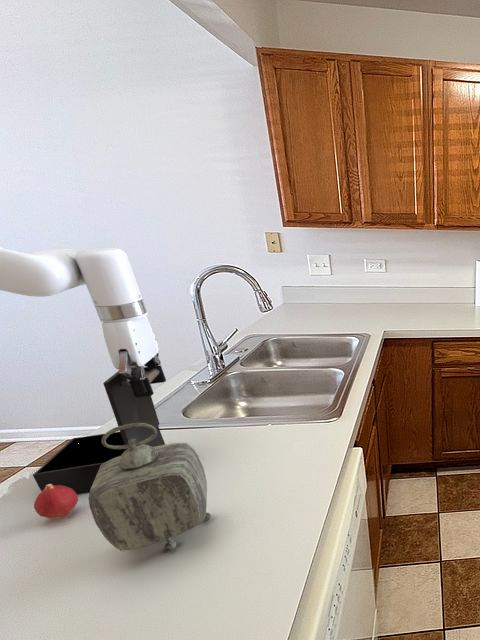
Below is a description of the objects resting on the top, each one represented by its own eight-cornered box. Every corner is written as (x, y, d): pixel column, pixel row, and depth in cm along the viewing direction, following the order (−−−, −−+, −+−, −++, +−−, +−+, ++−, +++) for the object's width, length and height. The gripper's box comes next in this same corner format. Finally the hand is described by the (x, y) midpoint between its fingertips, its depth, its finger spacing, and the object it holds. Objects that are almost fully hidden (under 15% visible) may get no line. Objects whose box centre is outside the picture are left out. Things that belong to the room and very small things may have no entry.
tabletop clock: (218, 510, 80) (181, 402, 70) (218, 541, 73) (177, 426, 63) (126, 541, 73) (72, 425, 63) (117, 578, 66) (54, 455, 56)
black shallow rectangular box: (45, 500, 83) (32, 475, 81) (83, 460, 95) (73, 438, 93) (142, 483, 88) (132, 459, 85) (166, 447, 100) (158, 425, 98)
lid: (102, 383, 79) (137, 380, 80) (135, 357, 91) (164, 355, 92) (129, 457, 85) (160, 453, 87) (155, 424, 97) (182, 421, 99)
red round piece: (35, 524, 77) (16, 492, 74) (70, 503, 82) (54, 472, 79) (57, 530, 76) (39, 497, 73) (91, 508, 81) (75, 477, 78)
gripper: (120, 302, 87) (148, 375, 94) (74, 324, 72) (111, 410, 79) (160, 299, 90) (184, 371, 97) (124, 320, 74) (155, 404, 81)
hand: (151, 388), depth 88 cm, fingers closed on lid, 6 cm apart
